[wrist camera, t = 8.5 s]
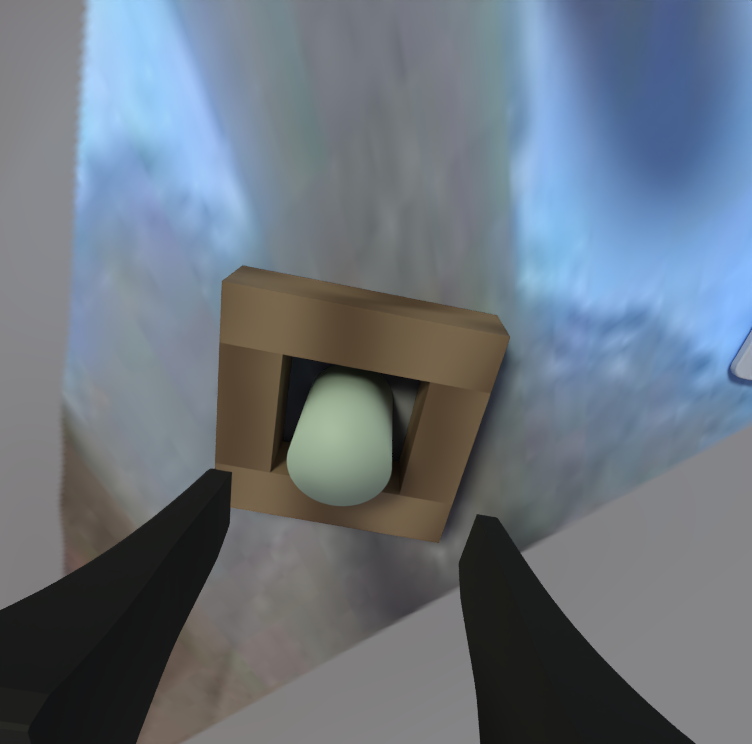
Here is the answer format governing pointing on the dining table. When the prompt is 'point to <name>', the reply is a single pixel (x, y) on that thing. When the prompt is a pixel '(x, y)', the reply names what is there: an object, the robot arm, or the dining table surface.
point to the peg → (343, 437)
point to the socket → (358, 350)
